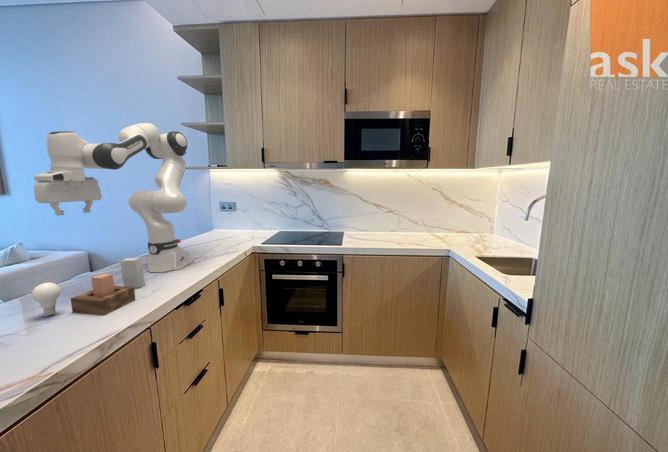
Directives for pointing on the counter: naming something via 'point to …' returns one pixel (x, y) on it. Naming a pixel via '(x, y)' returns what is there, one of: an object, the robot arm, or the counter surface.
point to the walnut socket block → (102, 301)
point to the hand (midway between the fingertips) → (74, 213)
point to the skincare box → (132, 272)
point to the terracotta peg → (102, 285)
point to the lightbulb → (47, 296)
